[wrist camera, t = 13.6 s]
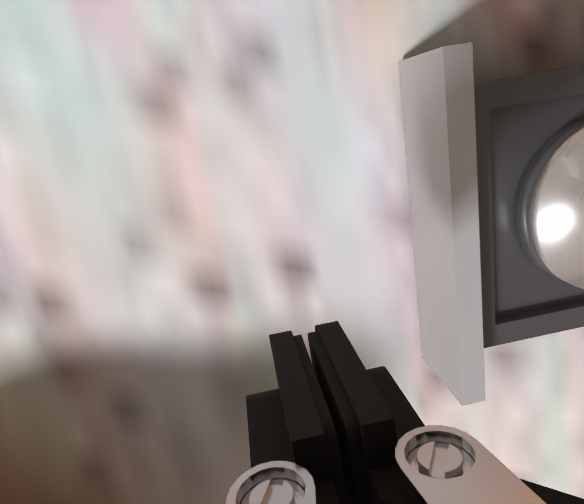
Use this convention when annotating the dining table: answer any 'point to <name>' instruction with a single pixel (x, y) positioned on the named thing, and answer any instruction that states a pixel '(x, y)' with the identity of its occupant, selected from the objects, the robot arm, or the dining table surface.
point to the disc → (554, 206)
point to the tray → (479, 209)
